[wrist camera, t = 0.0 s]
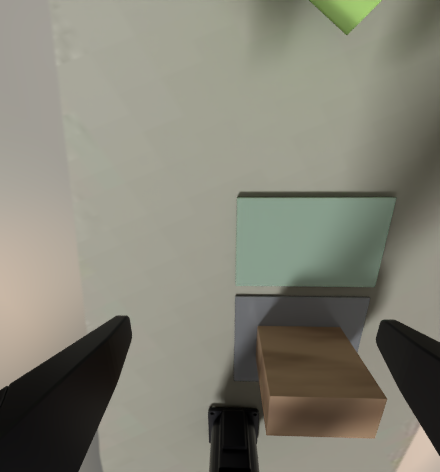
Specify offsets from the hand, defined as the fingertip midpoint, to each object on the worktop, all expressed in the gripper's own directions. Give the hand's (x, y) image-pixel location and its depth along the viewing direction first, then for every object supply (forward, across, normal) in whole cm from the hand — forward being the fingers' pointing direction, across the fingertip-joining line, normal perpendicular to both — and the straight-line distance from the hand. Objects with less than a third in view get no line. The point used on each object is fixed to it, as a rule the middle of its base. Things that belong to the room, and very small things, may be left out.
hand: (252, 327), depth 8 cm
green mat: (+15, -7, +2) cm, 16 cm away
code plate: (+15, -7, +14) cm, 22 cm away
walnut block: (+14, -7, +14) cm, 21 cm away
